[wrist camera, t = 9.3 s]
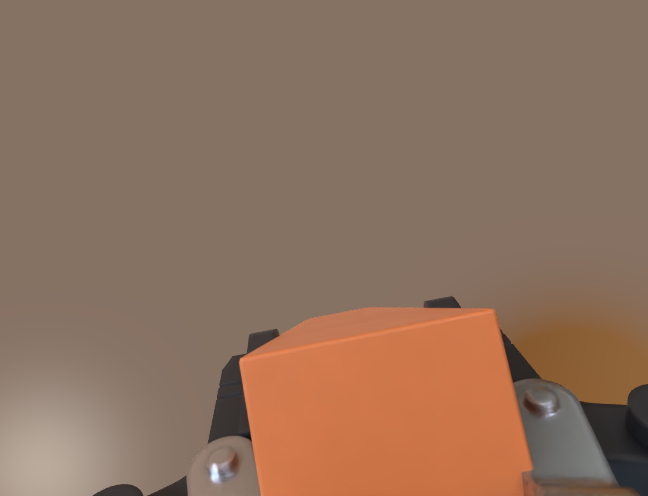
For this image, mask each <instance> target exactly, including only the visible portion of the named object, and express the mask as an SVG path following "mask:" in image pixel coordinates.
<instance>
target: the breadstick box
mask: <svg viewBox="0 0 648 496" xmlns="http://www.w3.org/2000/svg"><path fill="white" fill-rule="evenodd" d="M239 365H240V371H241V377H242V383H243V389H244V396H245V402H246V408H247V414H248V420H249V426H250V432H251V438H252V444H253V451H254V457H255V463H256V469H257V475H258V481H259V487H260V493H261V496H524V492H523V482H522V472H525V471H531V470H532V469H533V464H532V460H531V456H530V451H529V447H528V443H527V439H526V435H525V431H524V427H523V422H522V418H521V414H520V410H519V406H518V402H517V397H516V393H515V389H514V385H513V381H512V377H511V373H510V368H509V364H508V360H507V356H506V352H505V348H504V344H503V339H502V335H501V331H500V327H499V323H498V319H497V314H496V312H495V310H494V309H490V308H487V309H486V308H384V307H383V308H381V307H376V308H375V307H367V308H362V309H357V310H352V311H347V312H341V313H337V314H332V315H326V316H321V317H316V318H311V319H307V320H306V321H304V322H302V323H301V324H299V325H297V326H295V327H294V328H292V329H290V330H288V331H287V332H285V333H283V334H281V335H280V336H278V337H276V338H275V339H273V340H271V341H269V342H268V343H266V344H264V345H263V346H261V347H259V348H257V349H256V350H254V351H252V352H250V353H249V354H247V355H245V356H244V357H242V358H240V361H239Z"/></svg>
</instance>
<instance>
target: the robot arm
mask: <svg viewBox="0 0 648 496" xmlns="http://www.w3.org/2000/svg"><path fill="white" fill-rule="evenodd" d="M424 308H461V307H460V305H459V304H458V302H457V301H456V300H455V298H454V297H452V296H450V297H445V298H439V299H434V300H429V301H425V302H424ZM500 331H501V335H502V339H503V344H504V348H505V352H506V356H507V360H508V364H509V368H510V373H511V377H512V381H513V385H514V389H515V393H516V397H517V402H518V406H519V410H520V414H521V418H522V422H523V427H524V431H525V435H526V439H527V443H528V447H529V451H530V456H531V460H532V464H533V469H532V470H531V471H525V472H522V482H523V492H524V496H648V384H646V385H642V386H639V387H637V388H635V389H633V390H632V391H631V392H630V394H629V396H628V401H627V405H616V404H597V403H596V404H595V403H586V402H581V401H578V399H577V397H576V396H575V395H574V394H573V393H572V392H570V390H568V389H566V388H565V387H563V386H561V385H559V384H557V383H554V382H552V381H547V380H542V379H541V378H540V377H539V375H538V374H537V373H536V372H535V370H534V369H533V368H532V367H531V366H530V364H529V363H528V362H527V361H526V360H525V358H524V357H523V356H522V355H521V353H520V352H519V351H518V350H517V349H516V347H515V346H514V345H513V344H511V341H510V340H509V339H508V338H507V336H506V335H505V334H503V332H502V330H501V329H500ZM278 336H279V332H278V330H277V329H273V330H268V331H263V332H257V333H252V334H250V335H249V342H248V350H247V354H249V353H250V352H252V351H254V350H256V349H257V348H259V347H261V346H263V345H264V344H266V343H268V342H269V341H271V340H273V339H275V338H276V337H278ZM247 354H242V355H237V356H233V357H232V358H231V359H230V361H229V362H228V364H227V365H226V366H225V367H224V369H223V370H222V375H221V380H220V388H219V390H218V395H217V400H216V405H215V410H214V415H213V420H212V425H211V430H210V435H209V440H208V444H207V445H206V446H205V447H203V448H202V449H201V450H200V451H199V452H198V453H197V454H196V455H195V456H194V457H193V459H192V460H191V462H190V464H189V466H188V470H187V475H186V476H185V477H183V478H182V479H180V480H179V481H177V482H175V483H173V484H171V485H169V486H167V487H165V488H163V489H161V490H159V491H157V492H155V493H152V494H150V495H148V496H261V493H260V487H259V481H258V475H257V469H256V463H255V457H254V451H253V444H252V438H251V432H250V426H249V420H248V414H247V408H246V402H245V396H244V389H243V383H242V377H241V371H240V365H239V361H240V358H242V357H244V356H245V355H247ZM93 496H143V494H142V492H141V491H140V490H139V489H138V488H137V487H135V486H133V485H128V484H121V485H115V486H111V487H109V488H106V489H104V490H102V491H100V492H98V493H96V494H95V495H93Z"/></svg>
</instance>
